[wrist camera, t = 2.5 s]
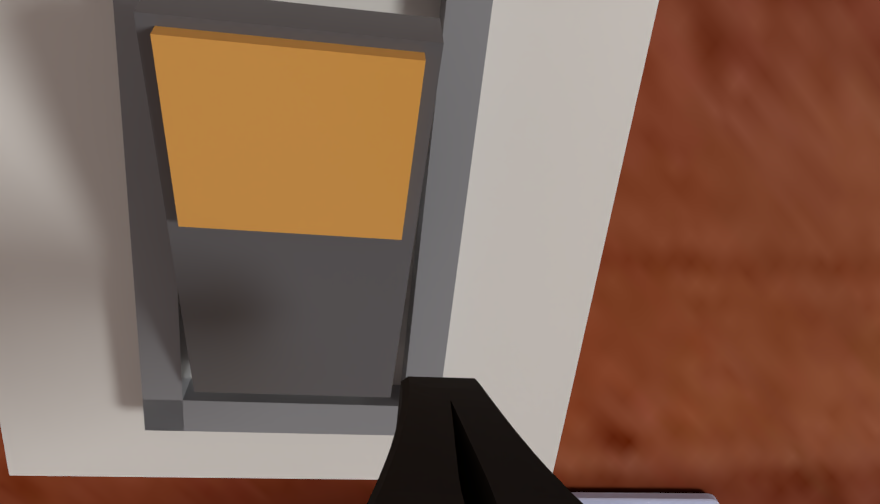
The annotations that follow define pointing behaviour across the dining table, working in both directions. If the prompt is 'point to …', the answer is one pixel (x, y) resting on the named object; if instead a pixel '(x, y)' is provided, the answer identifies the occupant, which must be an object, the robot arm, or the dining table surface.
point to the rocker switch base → (432, 264)
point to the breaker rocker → (290, 185)
